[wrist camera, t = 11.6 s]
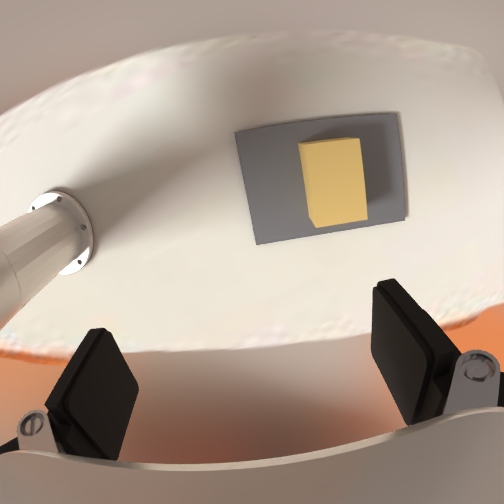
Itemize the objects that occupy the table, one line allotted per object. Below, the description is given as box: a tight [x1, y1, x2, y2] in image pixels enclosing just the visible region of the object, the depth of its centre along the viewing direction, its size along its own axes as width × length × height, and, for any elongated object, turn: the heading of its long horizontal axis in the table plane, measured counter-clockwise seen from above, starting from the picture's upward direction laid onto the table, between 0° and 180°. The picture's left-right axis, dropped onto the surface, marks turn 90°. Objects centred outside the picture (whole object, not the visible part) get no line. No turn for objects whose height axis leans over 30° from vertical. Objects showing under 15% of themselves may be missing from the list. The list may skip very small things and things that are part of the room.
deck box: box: [298, 137, 368, 228], centre depth 33 cm, size 9×6×4 cm, turn 11°
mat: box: [235, 114, 405, 245], centre depth 35 cm, size 20×14×1 cm
